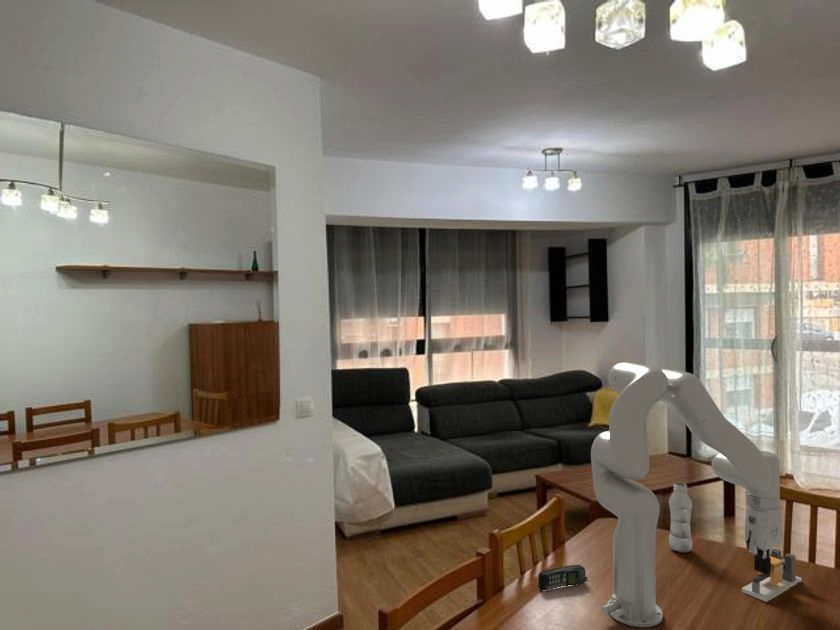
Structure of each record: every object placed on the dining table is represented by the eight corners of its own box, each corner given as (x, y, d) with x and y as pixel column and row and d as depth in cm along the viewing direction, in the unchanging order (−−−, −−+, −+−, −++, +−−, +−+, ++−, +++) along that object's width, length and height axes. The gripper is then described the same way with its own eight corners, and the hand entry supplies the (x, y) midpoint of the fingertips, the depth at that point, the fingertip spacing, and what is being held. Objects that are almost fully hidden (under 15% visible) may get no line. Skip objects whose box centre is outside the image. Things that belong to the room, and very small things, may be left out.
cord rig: (766, 602, 142) (766, 572, 141) (741, 591, 147) (741, 563, 146) (801, 581, 151) (801, 553, 151) (777, 572, 156) (777, 545, 156)
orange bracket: (774, 585, 146) (774, 564, 145) (758, 579, 149) (758, 558, 149) (782, 581, 148) (782, 560, 148) (766, 575, 151) (766, 554, 151)
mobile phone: (542, 575, 148) (591, 564, 153) (536, 570, 151) (584, 559, 155) (542, 594, 148) (591, 582, 153) (536, 589, 151) (584, 577, 156)
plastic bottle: (687, 545, 174) (687, 480, 173) (696, 555, 167) (695, 488, 167) (665, 545, 175) (665, 480, 174) (673, 555, 168) (672, 488, 167)
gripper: (762, 511, 138) (762, 586, 139) (792, 498, 146) (792, 569, 147) (731, 502, 145) (731, 573, 145) (762, 490, 153) (762, 558, 153)
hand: (762, 571), depth 146 cm, fingers closed
